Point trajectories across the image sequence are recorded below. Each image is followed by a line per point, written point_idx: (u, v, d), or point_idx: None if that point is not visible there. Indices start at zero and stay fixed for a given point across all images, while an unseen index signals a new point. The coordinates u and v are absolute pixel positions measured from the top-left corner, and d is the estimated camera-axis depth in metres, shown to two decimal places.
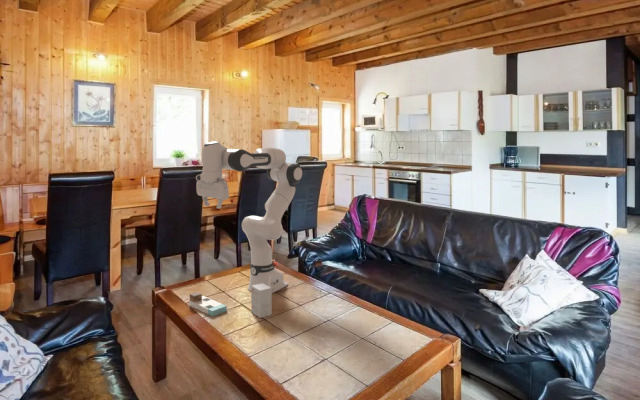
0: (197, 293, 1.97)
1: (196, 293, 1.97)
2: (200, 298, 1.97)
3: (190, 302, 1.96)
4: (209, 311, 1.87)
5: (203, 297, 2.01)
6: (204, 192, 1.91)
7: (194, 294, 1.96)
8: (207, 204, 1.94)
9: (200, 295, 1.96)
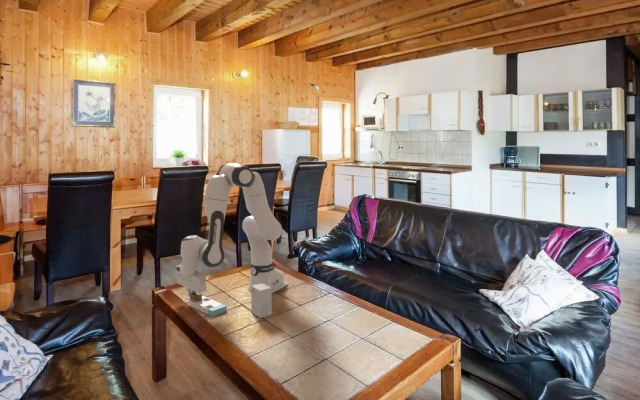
0: (197, 293, 1.97)
1: (196, 293, 1.97)
2: (200, 298, 1.96)
3: (190, 302, 1.96)
4: (209, 311, 1.87)
5: (203, 297, 2.01)
6: (183, 283, 1.99)
7: (194, 294, 1.96)
8: None
9: (200, 295, 1.96)
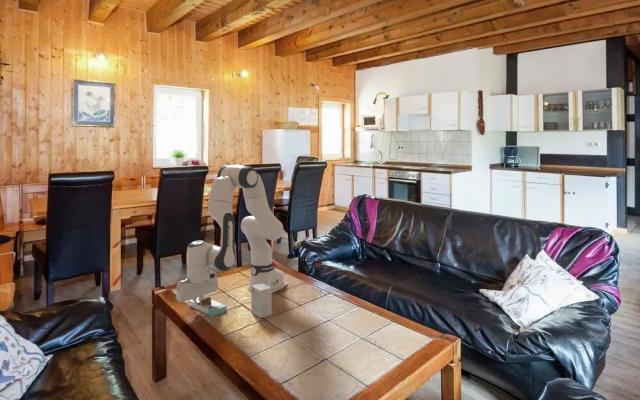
0: (206, 297, 1.93)
1: (205, 297, 1.93)
2: (209, 302, 1.92)
3: (190, 302, 1.96)
4: (209, 311, 1.87)
5: None
6: None
7: (203, 298, 1.92)
8: None
9: (209, 299, 1.92)
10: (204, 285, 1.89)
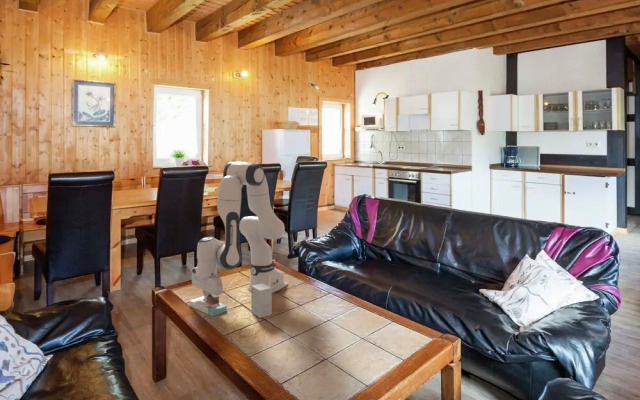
0: (214, 295, 1.95)
1: (213, 295, 1.95)
2: (217, 300, 1.94)
3: (190, 302, 1.96)
4: (209, 311, 1.87)
5: (203, 297, 2.01)
6: (199, 285, 1.97)
7: (211, 296, 1.93)
8: None
9: (217, 297, 1.94)
10: None
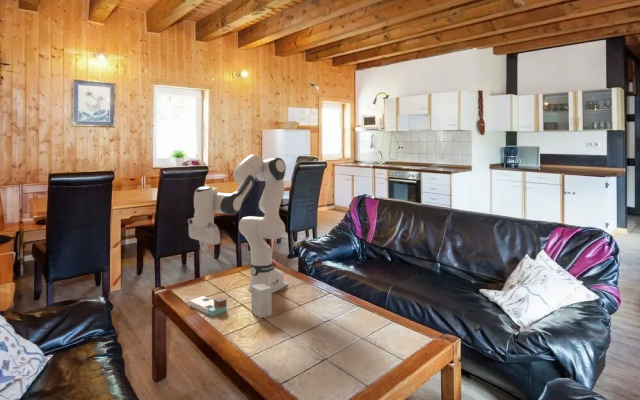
0: (221, 299, 1.91)
1: (220, 299, 1.91)
2: (225, 304, 1.91)
3: (190, 302, 1.96)
4: (209, 311, 1.87)
5: (203, 297, 2.01)
6: (196, 236, 1.94)
7: (218, 300, 1.90)
8: None
9: (225, 301, 1.90)
10: None
